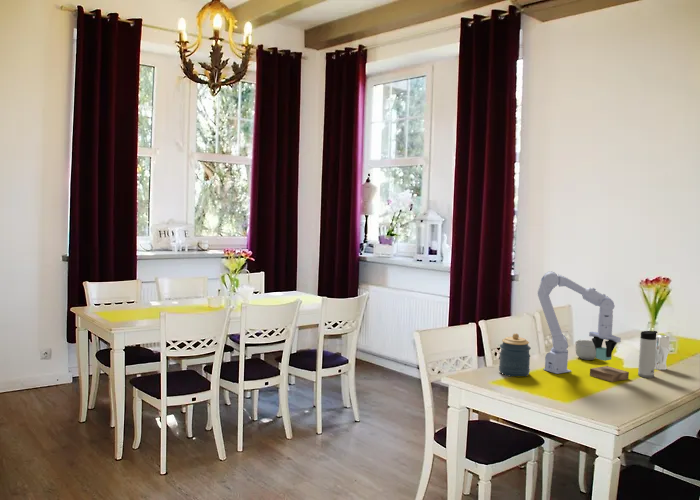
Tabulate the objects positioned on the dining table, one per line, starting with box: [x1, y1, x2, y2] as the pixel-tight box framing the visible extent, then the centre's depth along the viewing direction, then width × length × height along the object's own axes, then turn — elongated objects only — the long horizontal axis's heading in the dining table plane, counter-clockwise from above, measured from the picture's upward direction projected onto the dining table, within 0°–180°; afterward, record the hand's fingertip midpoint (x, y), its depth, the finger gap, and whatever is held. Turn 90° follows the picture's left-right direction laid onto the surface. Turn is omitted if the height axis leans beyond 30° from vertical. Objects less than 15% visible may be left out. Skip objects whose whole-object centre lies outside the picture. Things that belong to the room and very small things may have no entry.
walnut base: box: [589, 365, 630, 383], centre depth 275 cm, size 11×11×3 cm
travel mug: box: [637, 330, 658, 379], centre depth 277 cm, size 6×7×20 cm
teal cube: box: [595, 346, 613, 361], centre depth 278 cm, size 4×4×4 cm
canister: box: [498, 333, 531, 377], centre depth 276 cm, size 13×13×18 cm
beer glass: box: [654, 334, 670, 371], centre depth 292 cm, size 7×7×15 cm
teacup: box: [575, 339, 596, 361], centre depth 310 cm, size 14×11×8 cm
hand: (603, 355), depth 278 cm, fingers closed on teal cube, 4 cm apart
